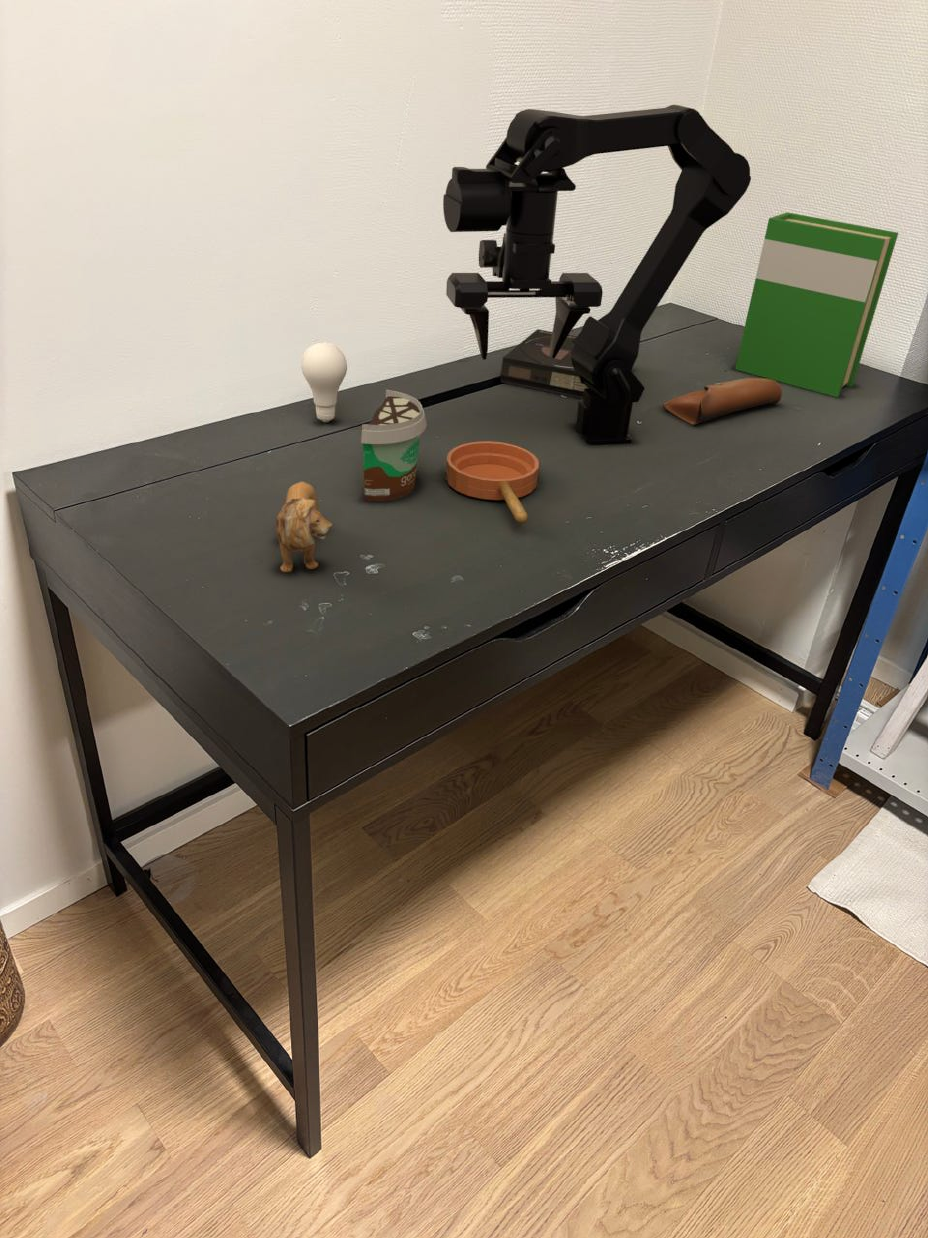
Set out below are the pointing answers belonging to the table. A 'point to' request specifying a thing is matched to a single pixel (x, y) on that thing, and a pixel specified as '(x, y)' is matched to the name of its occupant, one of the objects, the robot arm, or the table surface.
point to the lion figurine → (300, 525)
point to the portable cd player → (542, 366)
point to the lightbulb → (324, 376)
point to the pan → (491, 469)
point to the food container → (392, 447)
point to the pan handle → (513, 502)
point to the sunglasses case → (724, 399)
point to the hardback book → (814, 301)
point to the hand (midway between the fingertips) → (518, 357)
